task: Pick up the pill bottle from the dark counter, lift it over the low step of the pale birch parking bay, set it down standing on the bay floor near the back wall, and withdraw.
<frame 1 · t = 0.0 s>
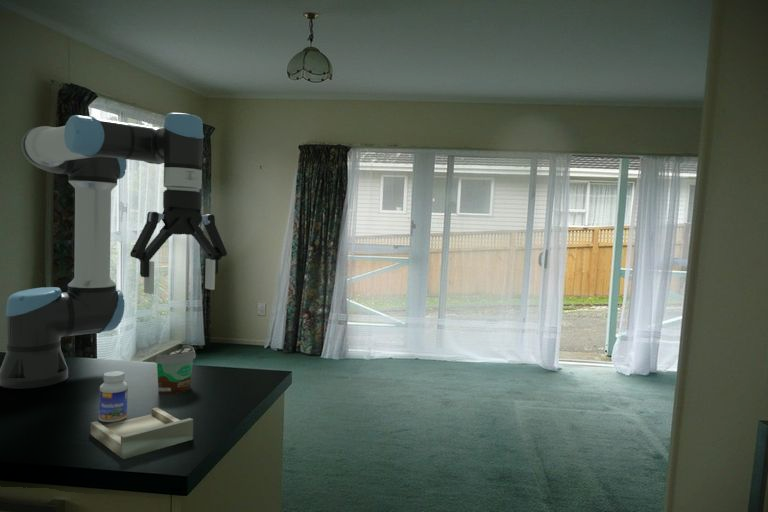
hand: (180, 291, 115), 28 cm above the kitchen counter, fingers open, 13 cm apart
food container: (180, 390, 138), on the kitchen counter
parking bay: (140, 436, 108), on the kitchen counter
pill bottle: (113, 419, 117), on the kitchen counter
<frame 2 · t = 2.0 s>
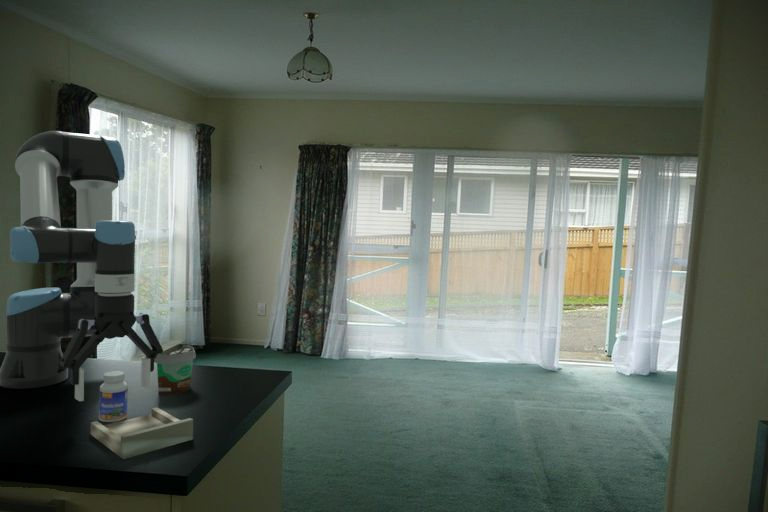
hand: (113, 393, 116), 6 cm above the kitchen counter, fingers open, 13 cm apart
nothing on the kitchen counter moved.
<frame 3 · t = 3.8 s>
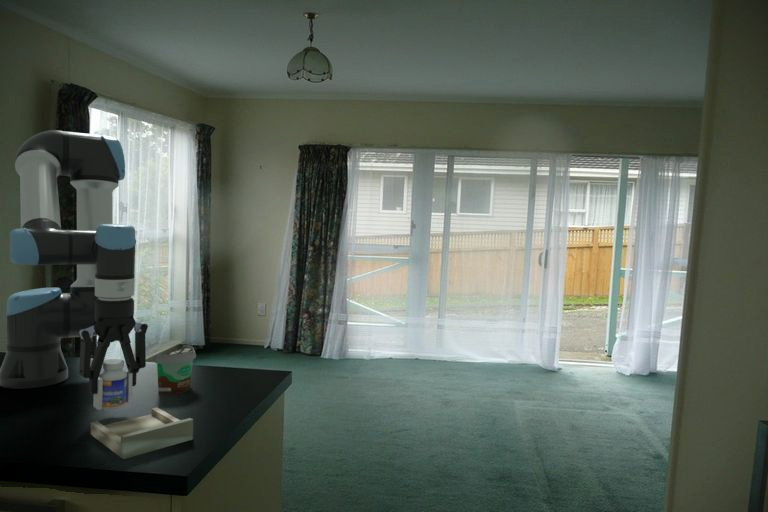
hand: (112, 404, 117), 3 cm above the kitchen counter, fingers closed on pill bottle, 5 cm apart
pill bottle: (112, 406, 117), point 2 cm above the kitchen counter, touching gripper
everything else where it was.
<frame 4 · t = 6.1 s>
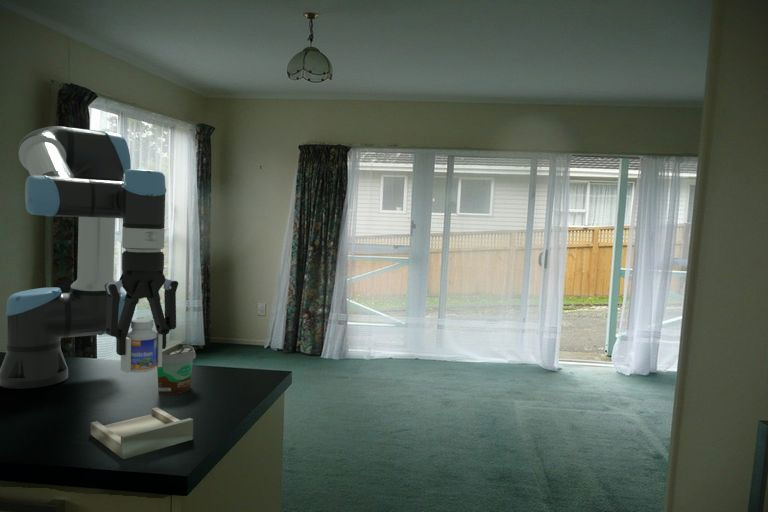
hand: (141, 368, 107), 14 cm above the kitchen counter, fingers closed on pill bottle, 5 cm apart
pill bottle: (141, 370, 107), point 13 cm above the kitchen counter, touching gripper
everything else where it was.
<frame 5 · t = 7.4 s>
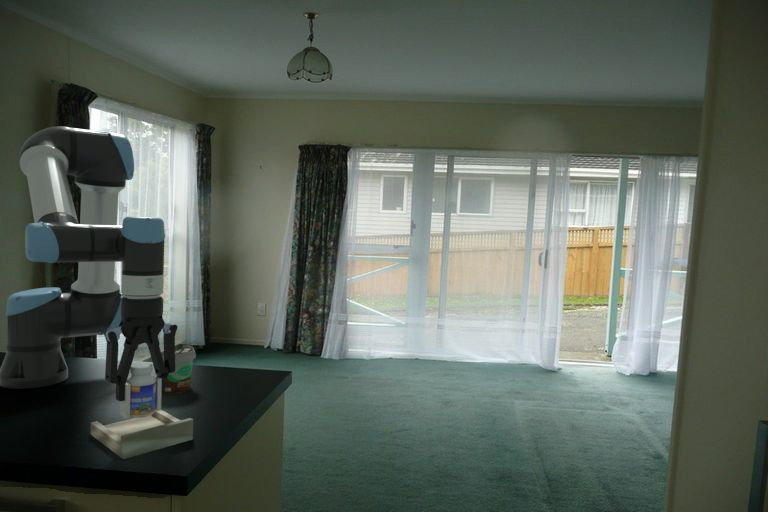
hand: (140, 412, 108), 5 cm above the kitchen counter, fingers closed on pill bottle, 5 cm apart
pill bottle: (140, 414, 108), point 4 cm above the kitchen counter, touching gripper
everything else where it was.
when the fingers open (3 cm above the kitchen counter, at t = 8.2 s): pill bottle drops 1 cm, resting on parking bay.
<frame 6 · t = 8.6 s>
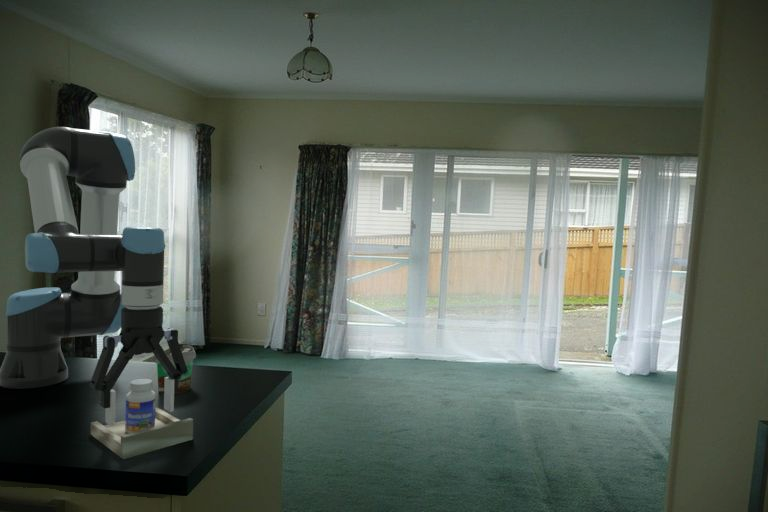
hand: (140, 416, 108), 4 cm above the kitchen counter, fingers open, 11 cm apart
pill bottle: (140, 430, 108), point 1 cm above the kitchen counter, touching parking bay
everything else where it was.
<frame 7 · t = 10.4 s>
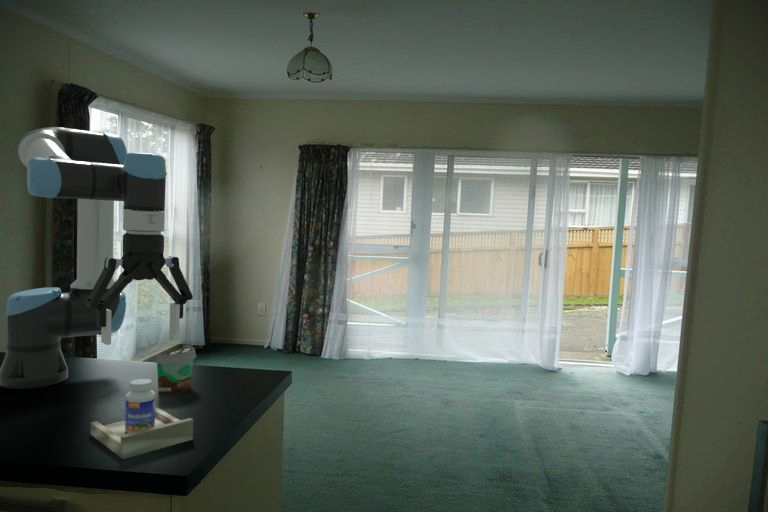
hand: (141, 338, 109), 19 cm above the kitchen counter, fingers open, 13 cm apart
nothing on the kitchen counter moved.
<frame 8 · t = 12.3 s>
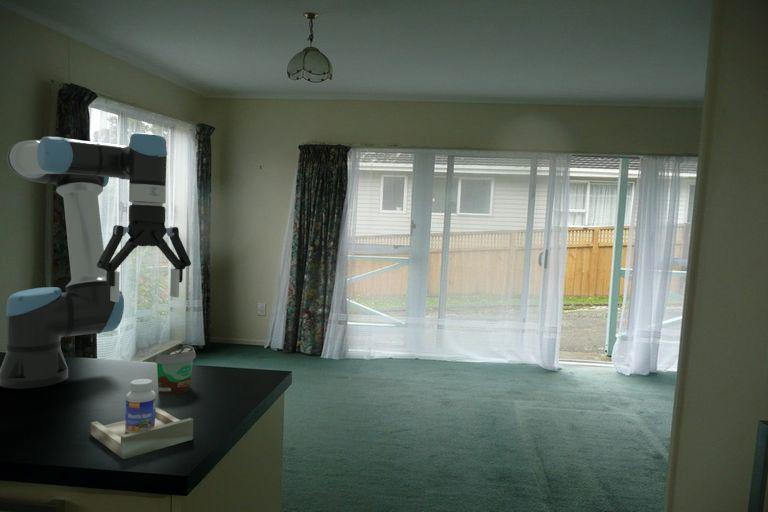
hand: (145, 299, 123), 25 cm above the kitchen counter, fingers open, 13 cm apart
nothing on the kitchen counter moved.
at the end: pill bottle inside the target area (0.3 cm from its centre), point 1.0 cm above the kitchen counter; pill bottle tilted 0°; the gripper is holding nothing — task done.
